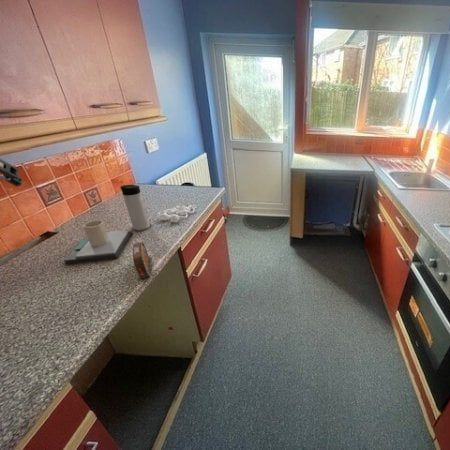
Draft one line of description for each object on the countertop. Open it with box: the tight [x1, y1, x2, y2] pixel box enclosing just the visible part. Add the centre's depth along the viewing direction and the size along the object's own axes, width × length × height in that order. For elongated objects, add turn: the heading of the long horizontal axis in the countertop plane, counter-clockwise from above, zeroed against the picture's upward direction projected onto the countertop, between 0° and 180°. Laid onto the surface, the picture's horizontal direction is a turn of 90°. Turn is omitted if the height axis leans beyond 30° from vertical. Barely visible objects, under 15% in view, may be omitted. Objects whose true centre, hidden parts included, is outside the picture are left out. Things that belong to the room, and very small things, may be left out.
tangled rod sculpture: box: [156, 204, 198, 223], centre depth 121 cm, size 19×14×4 cm
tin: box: [132, 241, 151, 279], centre depth 83 cm, size 15×3×8 cm, turn 30°
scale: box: [63, 229, 133, 265], centre depth 93 cm, size 15×18×3 cm
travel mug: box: [120, 184, 151, 232], centre depth 104 cm, size 6×7×20 cm
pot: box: [82, 219, 110, 247], centre depth 91 cm, size 6×6×8 cm
